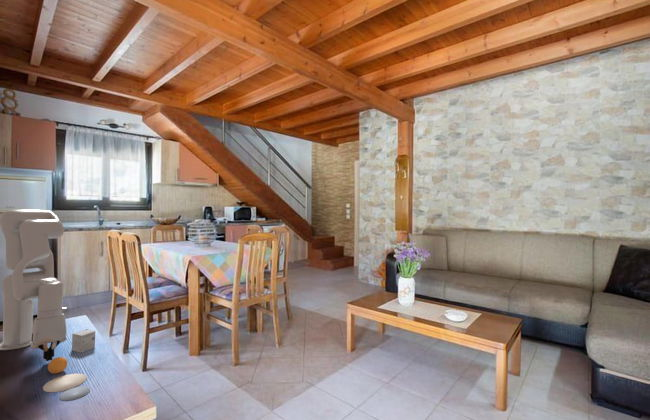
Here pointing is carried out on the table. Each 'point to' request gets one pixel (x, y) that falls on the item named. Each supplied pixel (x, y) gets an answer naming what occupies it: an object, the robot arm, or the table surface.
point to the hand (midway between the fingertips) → (48, 359)
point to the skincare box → (83, 340)
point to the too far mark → (74, 393)
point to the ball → (57, 365)
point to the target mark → (64, 382)
